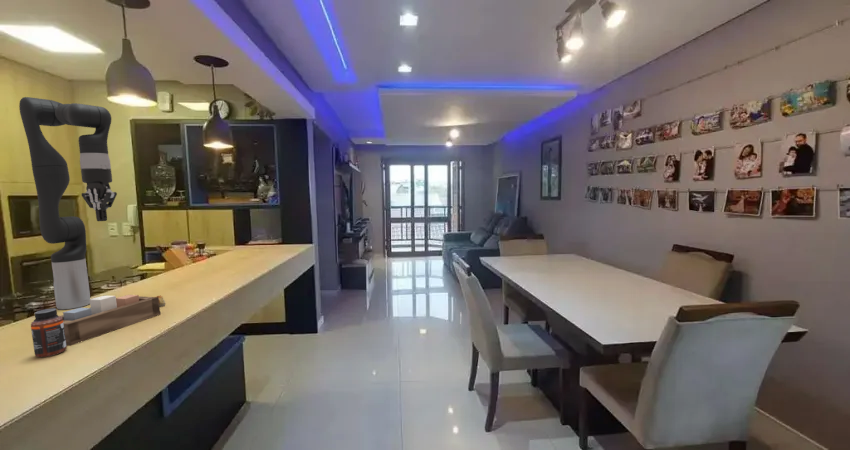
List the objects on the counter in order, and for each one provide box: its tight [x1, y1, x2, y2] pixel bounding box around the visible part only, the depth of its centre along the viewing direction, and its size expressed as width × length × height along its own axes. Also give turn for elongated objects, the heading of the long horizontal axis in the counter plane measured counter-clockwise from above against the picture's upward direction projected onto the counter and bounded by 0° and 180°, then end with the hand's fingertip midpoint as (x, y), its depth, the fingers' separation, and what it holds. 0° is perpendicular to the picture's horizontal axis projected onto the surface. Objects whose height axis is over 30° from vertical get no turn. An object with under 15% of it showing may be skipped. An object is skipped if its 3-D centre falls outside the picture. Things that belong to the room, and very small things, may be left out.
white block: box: [89, 295, 117, 315], centre depth 117 cm, size 4×4×5 cm
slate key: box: [62, 307, 92, 321], centre depth 111 cm, size 4×4×5 cm
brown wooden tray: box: [60, 295, 161, 346], centre depth 118 cm, size 12×26×6 cm, turn 164°
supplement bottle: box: [30, 307, 68, 358], centre depth 98 cm, size 6×6×11 cm
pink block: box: [116, 294, 140, 307], centre depth 124 cm, size 4×4×5 cm
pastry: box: [156, 295, 166, 308], centre depth 137 cm, size 9×7×4 cm
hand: (102, 221), depth 126 cm, fingers closed
